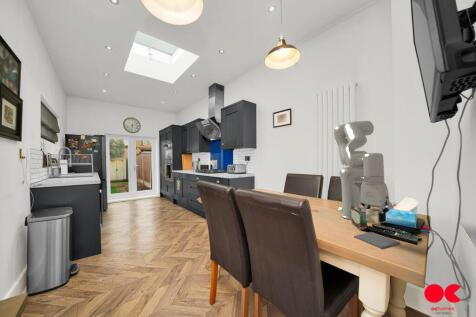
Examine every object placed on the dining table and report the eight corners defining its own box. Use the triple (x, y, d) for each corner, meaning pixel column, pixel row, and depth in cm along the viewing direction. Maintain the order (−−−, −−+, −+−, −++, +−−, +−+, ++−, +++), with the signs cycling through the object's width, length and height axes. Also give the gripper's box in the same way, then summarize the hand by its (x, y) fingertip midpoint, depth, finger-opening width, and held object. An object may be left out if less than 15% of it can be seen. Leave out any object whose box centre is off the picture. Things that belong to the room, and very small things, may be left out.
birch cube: (366, 220, 83) (365, 209, 83) (373, 218, 84) (373, 208, 85) (377, 223, 78) (377, 212, 78) (385, 222, 80) (384, 210, 80)
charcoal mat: (354, 237, 85) (354, 235, 85) (371, 233, 89) (371, 231, 89) (381, 248, 74) (381, 247, 74) (400, 243, 78) (400, 242, 78)
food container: (374, 232, 90) (373, 212, 90) (361, 231, 91) (360, 212, 91) (362, 223, 102) (362, 206, 102) (350, 223, 103) (350, 205, 103)
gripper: (350, 179, 88) (352, 215, 88) (389, 182, 72) (391, 227, 72) (361, 178, 91) (362, 213, 91) (401, 181, 75) (403, 224, 75)
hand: (375, 219), depth 81 cm, fingers closed on birch cube, 5 cm apart
